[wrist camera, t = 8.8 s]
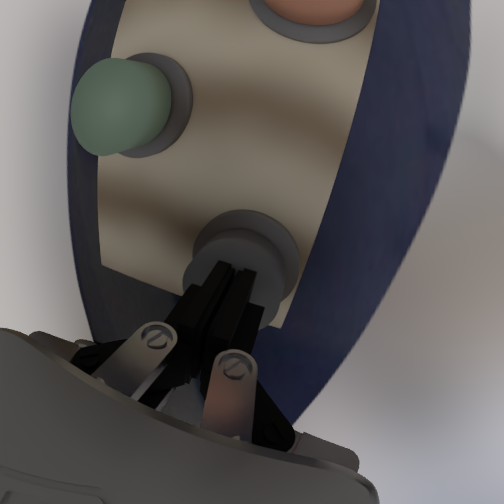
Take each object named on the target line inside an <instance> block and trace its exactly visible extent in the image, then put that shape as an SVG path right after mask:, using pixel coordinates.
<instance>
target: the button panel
mask: <svg viewBox="0 0 504 504" xmlns="http://www.w3.org/2000/svg"><path fill="white" fill-rule="evenodd" d="M379 3H380V0H364V1H363V4H362V6H361V7H360V9H359V10H358V11H357V12H356V13H355V14H354V15H353V16H351V17H350V18H348V19H346V20H344V21H342V22H338V23H335V24H330V25H307V24H301V23H297V22H294V21H291V20H288V19H286V18H284V17H282V16H280V15H278V14H277V13H275V12H274V11H273V10H271V9H270V8H269V7H268V6H267V5H266V3H265V2H264V1H263V0H126V3H125V6H124V9H123V12H122V15H121V19H120V22H119V26H118V30H117V33H116V37H115V41H114V45H113V50H112V54H111V58H120V59H126V60H132V61H138V62H143V63H148V64H151V65H153V66H155V67H157V68H158V69H159V70H160V71H162V73H163V74H164V75H165V77H166V78H167V80H168V83H169V86H170V89H171V109H170V114H169V117H168V119H167V122H166V124H165V126H164V127H163V129H162V131H161V132H160V133H159V134H158V135H157V136H156V137H155V138H154V139H153V140H152V141H151V142H149V143H147V144H146V145H143V146H141V147H137V148H133V149H129V150H126V151H122V152H119V153H115V154H112V155H108V156H98V224H99V240H100V252H101V262H102V265H104V266H106V267H108V268H111V269H113V270H116V271H118V272H120V273H123V274H125V275H128V276H130V277H133V278H135V279H138V280H140V281H143V282H145V283H148V284H150V285H153V286H156V287H158V288H161V289H163V290H166V291H169V292H171V293H174V294H177V295H180V296H182V295H183V294H184V292H183V286H182V280H183V275H184V272H185V270H186V268H187V266H188V265H189V264H190V262H191V261H192V260H193V259H194V257H195V256H196V255H197V254H198V252H199V251H200V250H201V249H202V248H203V246H204V245H205V244H206V243H207V241H208V240H209V239H210V238H212V237H213V236H214V235H216V234H217V233H220V232H222V231H225V230H230V229H244V230H249V231H252V232H255V233H258V234H260V235H262V236H263V237H265V238H266V239H268V240H269V241H270V242H271V243H273V245H274V246H275V247H276V248H277V249H278V251H279V252H280V254H281V255H282V257H283V260H284V263H285V267H286V279H285V283H284V288H283V293H282V297H281V302H280V306H279V310H278V313H277V315H276V317H275V318H274V319H273V321H272V322H271V323H270V324H268V325H270V326H274V327H277V328H281V327H282V324H283V322H284V319H285V317H286V314H287V312H288V309H289V307H290V304H291V302H292V299H293V297H294V294H295V292H296V289H297V286H298V284H299V281H300V279H301V276H302V273H303V271H304V268H305V265H306V263H307V260H308V257H309V254H310V252H311V249H312V246H313V243H314V241H315V238H316V235H317V232H318V229H319V226H320V223H321V221H322V218H323V215H324V212H325V209H326V206H327V203H328V200H329V197H330V194H331V191H332V187H333V184H334V181H335V178H336V175H337V172H338V168H339V165H340V162H341V159H342V155H343V152H344V149H345V145H346V142H347V138H348V135H349V131H350V128H351V124H352V121H353V117H354V113H355V110H356V106H357V102H358V98H359V94H360V90H361V87H362V83H363V78H364V74H365V70H366V66H367V62H368V57H369V53H370V48H371V44H372V39H373V34H374V29H375V24H376V19H377V14H378V8H379Z"/></svg>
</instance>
